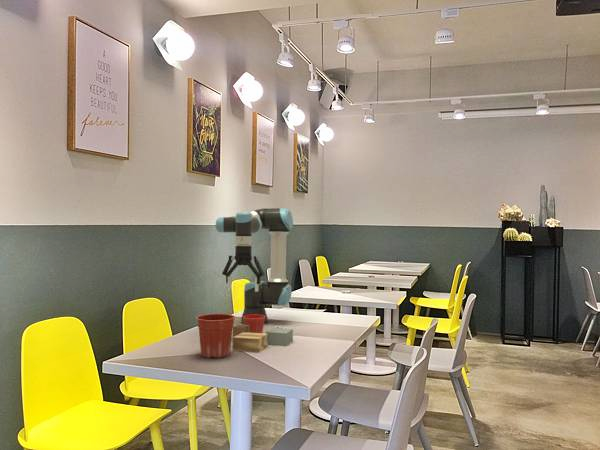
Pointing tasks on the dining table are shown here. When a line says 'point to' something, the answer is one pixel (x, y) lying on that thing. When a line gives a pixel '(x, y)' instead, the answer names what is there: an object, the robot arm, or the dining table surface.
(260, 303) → the robot arm
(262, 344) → the oak pedestal
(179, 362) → the dining table surface
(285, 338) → the sage green pedestal
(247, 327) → the walnut block
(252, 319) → the flower pot
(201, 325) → the flower pot
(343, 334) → the dining table surface
